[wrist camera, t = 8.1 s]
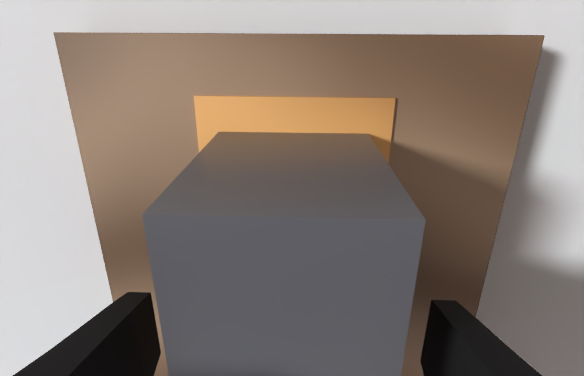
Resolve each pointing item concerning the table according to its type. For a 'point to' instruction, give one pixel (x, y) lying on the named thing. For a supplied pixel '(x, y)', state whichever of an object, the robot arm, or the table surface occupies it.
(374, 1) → the table surface
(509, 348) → the robot arm
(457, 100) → the board
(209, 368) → the block
